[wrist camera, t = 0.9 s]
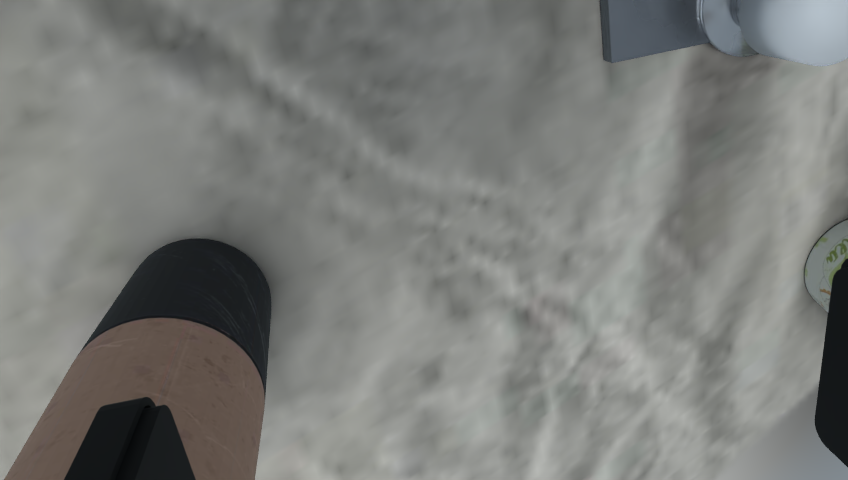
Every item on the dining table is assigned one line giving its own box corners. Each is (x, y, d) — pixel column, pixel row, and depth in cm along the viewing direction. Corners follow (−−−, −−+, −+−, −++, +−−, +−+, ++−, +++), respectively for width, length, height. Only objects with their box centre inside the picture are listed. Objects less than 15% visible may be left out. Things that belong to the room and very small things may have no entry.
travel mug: (266, 225, 34) (204, 539, 15) (285, 353, 37) (252, 744, 18) (108, 240, 33) (-157, 593, 14) (141, 371, 36) (-44, 798, 17)
